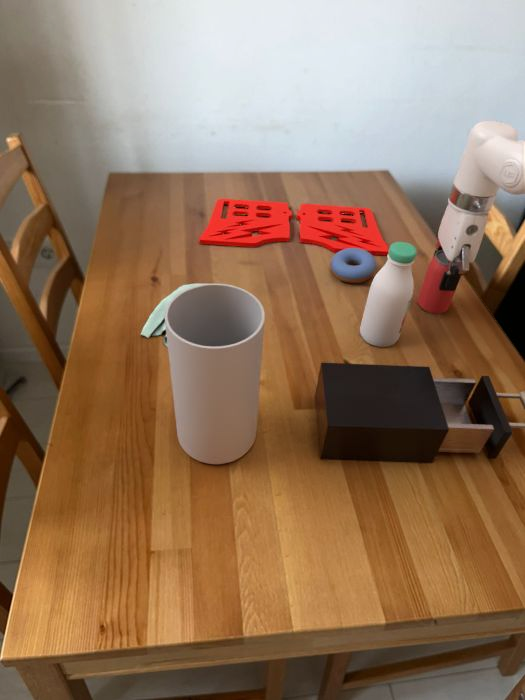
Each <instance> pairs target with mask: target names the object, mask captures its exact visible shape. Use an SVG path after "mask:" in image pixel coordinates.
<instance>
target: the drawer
mask: <svg viewBox="0 0 525 700" xmlns="http://www.w3.org/2000/svg"><path fill="white" fill-rule="evenodd" d="M433 380H434V384H435V387H436V390H437V393H438V396H439V399H440V403H441V406H442V409H443V412H444V415H445V419H446V422H447V425H448V428H449V431H448V433H447V435H446V437H445V439H444V441H443V443H442V445H441V447H440V449H439V451H438V453H458V454H459V453H460V454H461V453H463V454H464V453H465V454H480V453H481V452H482V450H483V449H485V452H486V455H487V458H488V459H497V458H498V456H499V455H500V453H501V451H502V450H503V448H504V447H505V446H506V444H507V443H508V441H509V440H510V438H511V436H512V435H513V433H514V432H513V430H512V429H525V422H509V419H508V418H507V415H506V412H505V411H504V409H503V406H502V404H501V401H500V399H519V401H520V403H521V405H522V407H523V409H524V410H525V390H523V391H520V392H519V393H516V392H515V393H514V392H513V393H511V392H496V389H495V387H494V385H493V382H492V380H491V377H490V375H481V376H480V379H479V380H478V382H477V381H476V379H475V378H453V377H433ZM476 383H477V384H476ZM475 385H476V386H475ZM473 389H474V390H473ZM472 391H473V392H472ZM471 393H472V394H471ZM470 395H471V396H470ZM467 403H468V406H469V409H470V412H471V415H472V417H473V420H474V422H475V423H472V421H471V418H470V415H469V412H468V410H467V406H466V404H467Z"/></svg>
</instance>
